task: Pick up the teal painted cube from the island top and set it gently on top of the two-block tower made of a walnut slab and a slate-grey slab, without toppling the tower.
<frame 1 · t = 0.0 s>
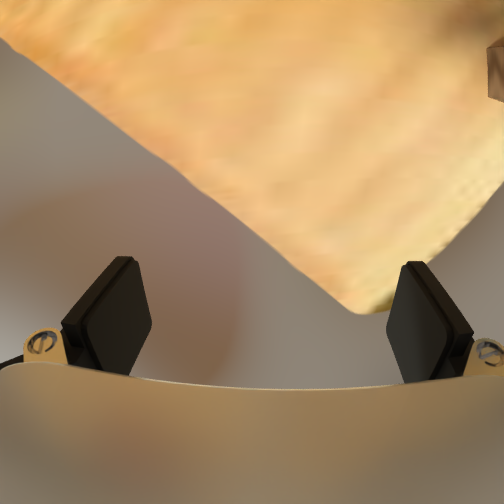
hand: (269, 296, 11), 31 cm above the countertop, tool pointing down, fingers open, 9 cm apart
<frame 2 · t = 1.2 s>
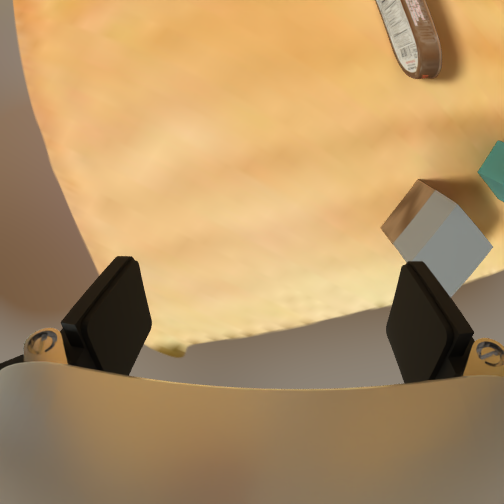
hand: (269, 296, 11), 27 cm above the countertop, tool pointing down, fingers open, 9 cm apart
tin: (390, 23, 26), on the countertop
tower base: (418, 220, 36), on the countertop, touching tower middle
teal cube: (498, 170, 32), on the countertop
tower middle: (435, 236, 32), point 5 cm above the countertop, touching tower base
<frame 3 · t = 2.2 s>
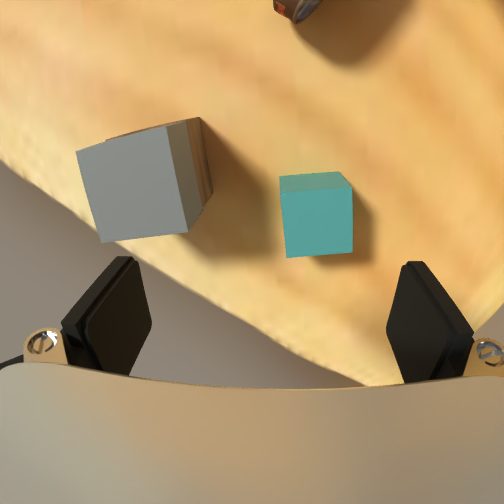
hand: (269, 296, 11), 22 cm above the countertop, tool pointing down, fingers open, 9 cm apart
tower base: (169, 161, 31), on the countertop
teal cube: (311, 201, 31), on the countertop
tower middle: (152, 173, 26), point 5 cm above the countertop
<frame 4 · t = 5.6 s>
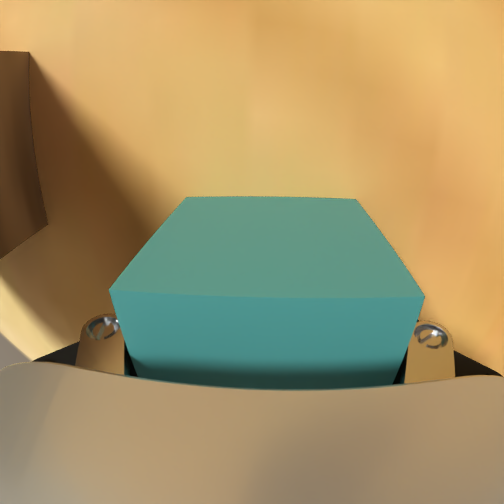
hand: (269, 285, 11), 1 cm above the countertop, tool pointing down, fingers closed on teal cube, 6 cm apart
teal cube: (270, 272, 12), on the countertop, touching gripper
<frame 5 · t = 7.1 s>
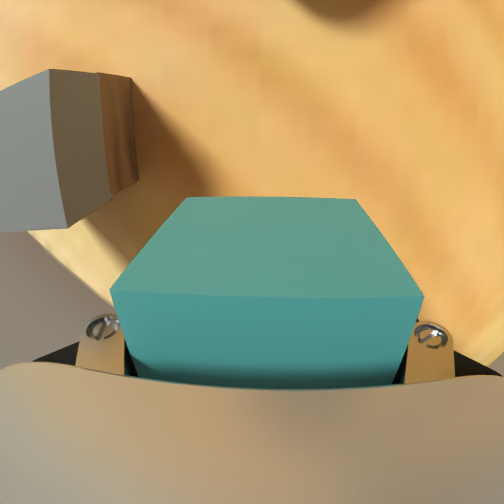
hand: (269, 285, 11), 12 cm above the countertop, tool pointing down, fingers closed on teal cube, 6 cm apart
tower base: (90, 136, 21), on the countertop, touching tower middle
teal cube: (270, 272, 12), point 11 cm above the countertop, touching gripper
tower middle: (55, 146, 16), point 5 cm above the countertop, touching tower base
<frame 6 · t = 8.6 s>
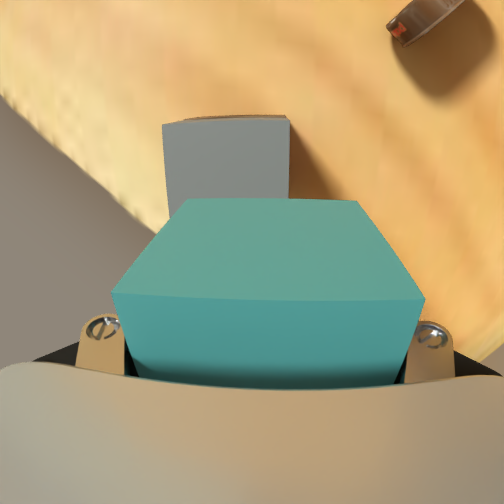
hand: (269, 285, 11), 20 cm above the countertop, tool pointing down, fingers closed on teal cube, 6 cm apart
tin: (423, 5, 19), on the countertop
teal cube: (271, 273, 12), point 19 cm above the countertop, touching gripper
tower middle: (235, 167, 24), point 5 cm above the countertop, touching tower base
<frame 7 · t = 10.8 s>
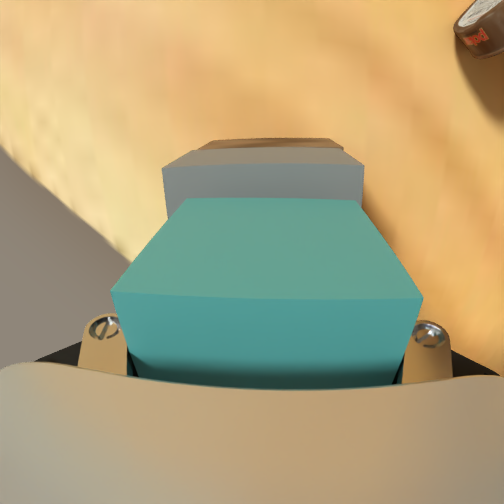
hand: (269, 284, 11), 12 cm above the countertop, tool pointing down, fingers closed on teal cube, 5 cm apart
tin: (484, 7, 13), on the countertop
tower base: (272, 192, 22), on the countertop
teal cube: (270, 273, 12), point 11 cm above the countertop, touching gripper
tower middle: (267, 216, 18), point 5 cm above the countertop
when the fingers open (12 cm above the countertop, at t = 11.1 s): teal cube drops 1 cm, resting on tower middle.
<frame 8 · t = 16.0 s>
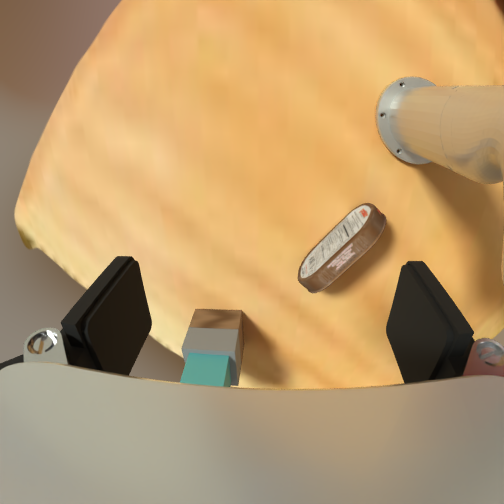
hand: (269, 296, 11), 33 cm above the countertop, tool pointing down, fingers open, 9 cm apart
tin: (334, 234, 45), on the countertop
tower base: (220, 327, 54), on the countertop, touching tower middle
teal cube: (210, 367, 46), point 10 cm above the countertop, touching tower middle
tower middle: (215, 346, 50), point 5 cm above the countertop, touching teal cube, tower base
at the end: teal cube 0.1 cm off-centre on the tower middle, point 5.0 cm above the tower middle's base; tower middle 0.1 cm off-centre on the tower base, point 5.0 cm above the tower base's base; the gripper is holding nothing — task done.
